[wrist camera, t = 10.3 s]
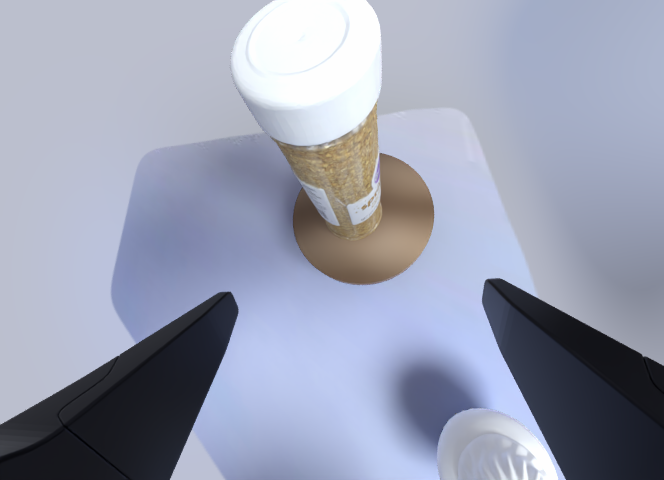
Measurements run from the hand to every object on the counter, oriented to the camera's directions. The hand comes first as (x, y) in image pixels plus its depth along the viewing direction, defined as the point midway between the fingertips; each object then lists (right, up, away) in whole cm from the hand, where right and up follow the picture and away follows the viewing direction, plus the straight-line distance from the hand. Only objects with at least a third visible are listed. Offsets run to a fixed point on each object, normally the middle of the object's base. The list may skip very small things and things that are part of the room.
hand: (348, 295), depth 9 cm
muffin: (+9, -12, +9) cm, 18 cm away
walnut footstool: (+2, +3, +14) cm, 15 cm away
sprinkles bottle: (+1, +4, +11) cm, 12 cm away
